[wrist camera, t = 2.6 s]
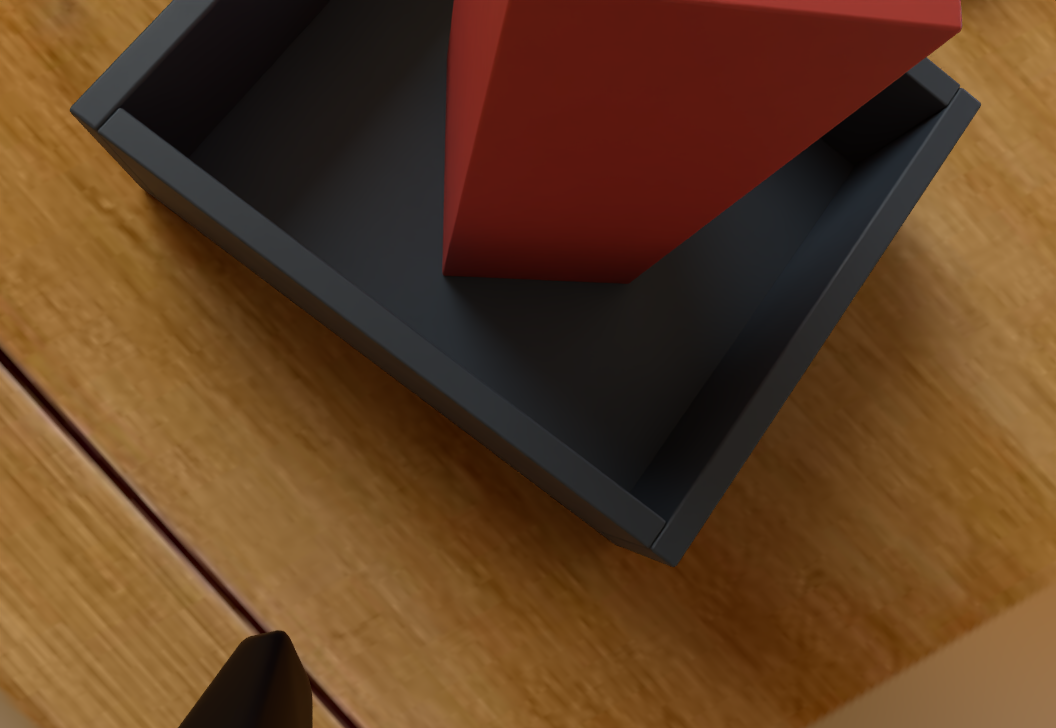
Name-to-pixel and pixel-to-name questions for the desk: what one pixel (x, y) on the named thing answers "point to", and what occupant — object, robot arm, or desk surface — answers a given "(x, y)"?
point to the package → (645, 118)
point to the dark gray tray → (501, 303)
